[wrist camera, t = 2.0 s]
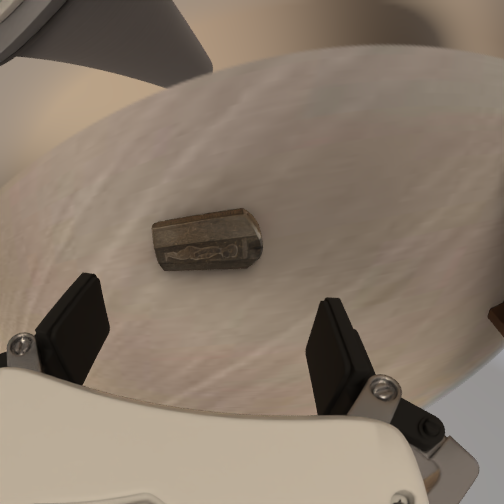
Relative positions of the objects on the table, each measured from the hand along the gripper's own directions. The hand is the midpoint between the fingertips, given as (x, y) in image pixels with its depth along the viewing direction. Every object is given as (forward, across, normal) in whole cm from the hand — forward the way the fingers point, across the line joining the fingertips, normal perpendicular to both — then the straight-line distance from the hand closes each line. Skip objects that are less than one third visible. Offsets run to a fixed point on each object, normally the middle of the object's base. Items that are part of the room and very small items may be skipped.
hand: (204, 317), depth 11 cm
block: (+6, +1, -1) cm, 7 cm away
